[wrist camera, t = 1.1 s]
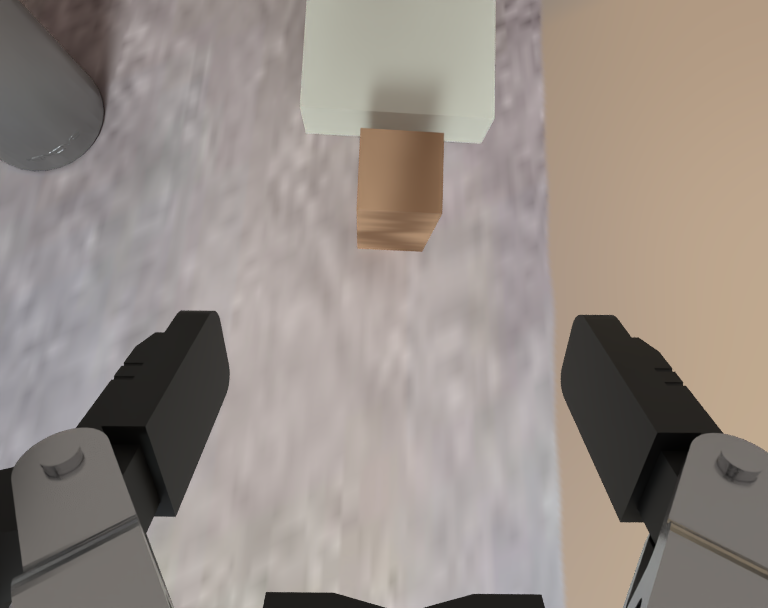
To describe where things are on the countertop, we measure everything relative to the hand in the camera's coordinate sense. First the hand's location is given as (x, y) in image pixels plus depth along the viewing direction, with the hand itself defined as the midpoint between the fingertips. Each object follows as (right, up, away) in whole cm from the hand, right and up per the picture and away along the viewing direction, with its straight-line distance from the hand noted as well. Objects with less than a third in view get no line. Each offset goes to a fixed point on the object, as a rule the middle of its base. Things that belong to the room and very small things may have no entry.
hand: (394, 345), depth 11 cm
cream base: (+1, +21, +29) cm, 36 cm away
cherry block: (0, +8, +27) cm, 28 cm away
